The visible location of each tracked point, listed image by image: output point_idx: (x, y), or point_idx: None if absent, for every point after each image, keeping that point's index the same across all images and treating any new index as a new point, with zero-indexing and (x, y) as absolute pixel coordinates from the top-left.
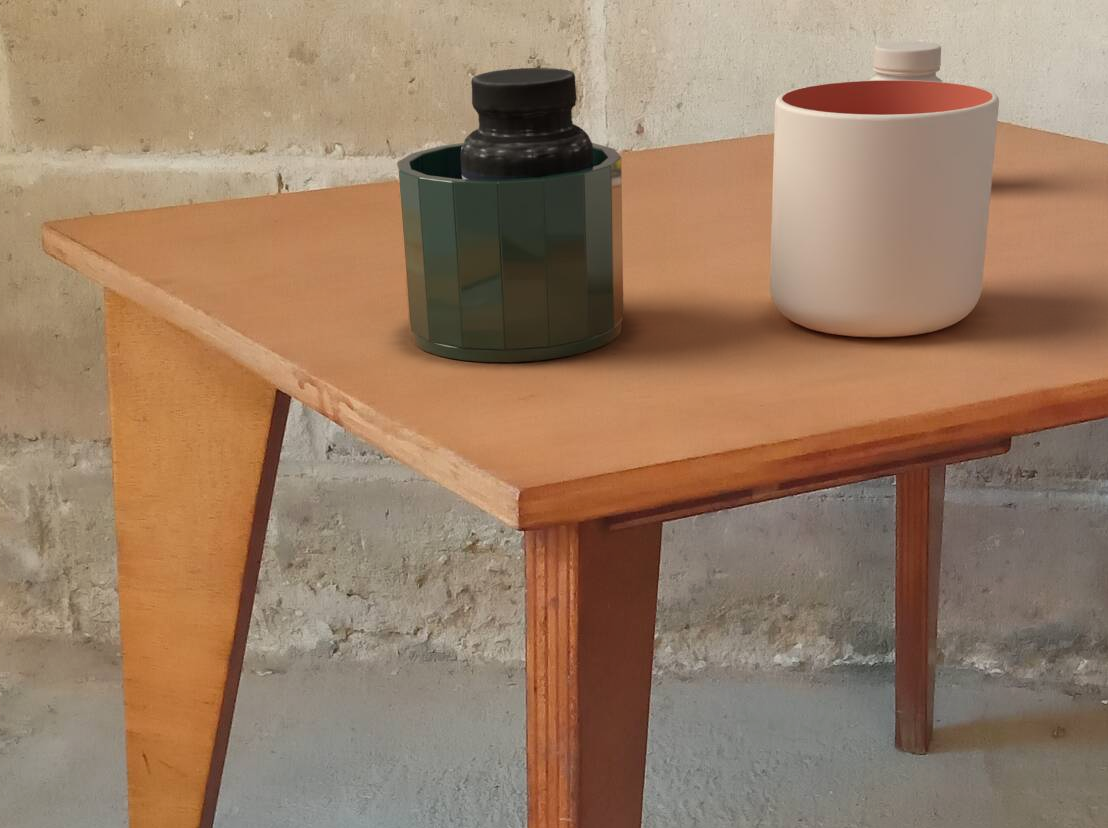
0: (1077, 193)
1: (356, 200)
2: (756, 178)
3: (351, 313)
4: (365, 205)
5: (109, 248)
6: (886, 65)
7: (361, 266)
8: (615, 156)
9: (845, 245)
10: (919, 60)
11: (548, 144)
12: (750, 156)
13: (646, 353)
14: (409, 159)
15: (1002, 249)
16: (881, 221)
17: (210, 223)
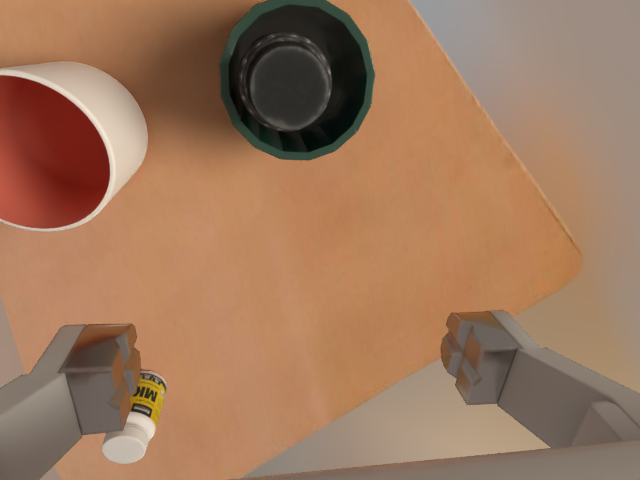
0: None
1: (435, 331)
2: (229, 396)
3: (393, 106)
4: (429, 322)
5: (549, 225)
6: (135, 429)
7: (407, 203)
8: (224, 94)
9: (66, 66)
10: (112, 433)
11: (260, 46)
12: (243, 437)
13: (202, 34)
14: (368, 82)
15: (51, 274)
16: (33, 64)
17: (504, 279)
